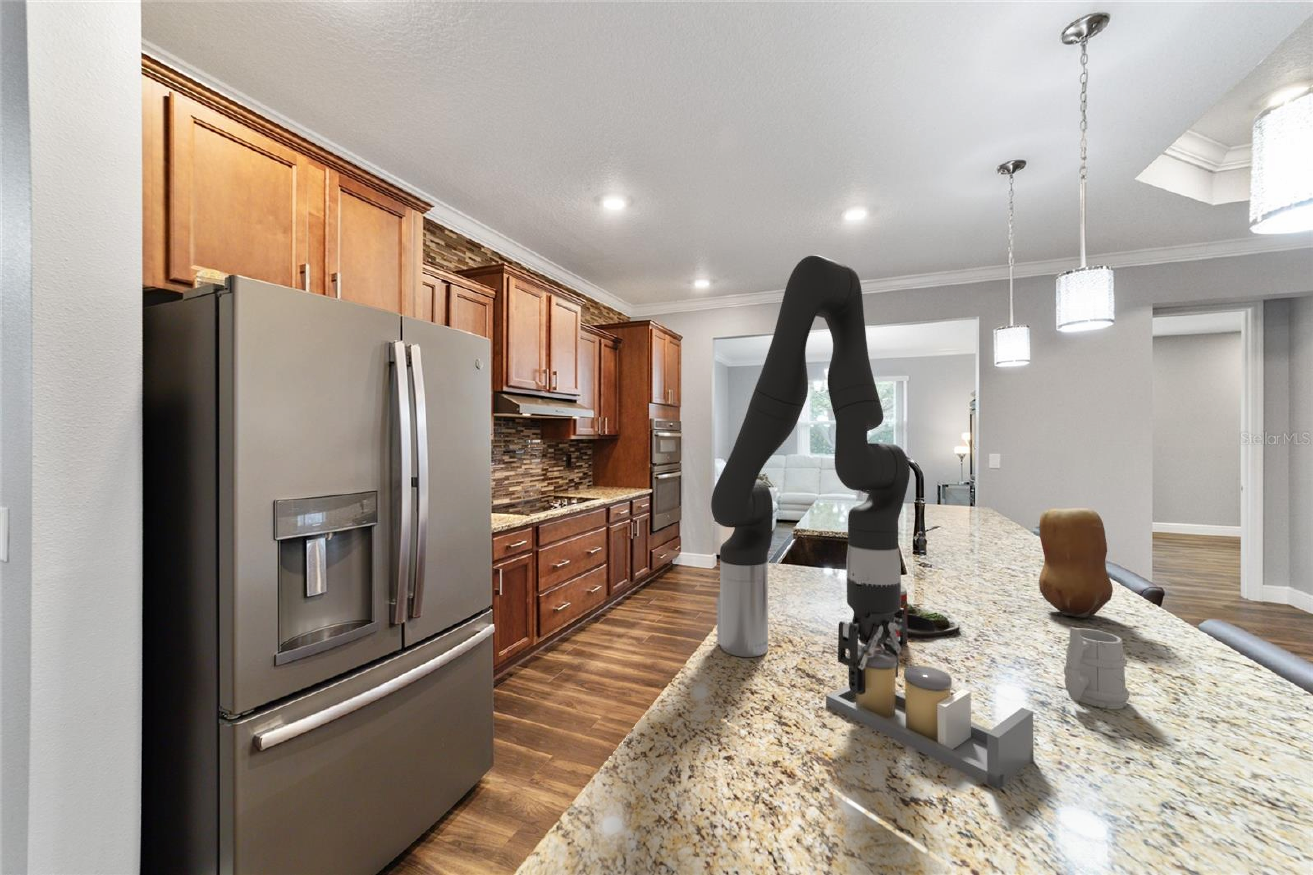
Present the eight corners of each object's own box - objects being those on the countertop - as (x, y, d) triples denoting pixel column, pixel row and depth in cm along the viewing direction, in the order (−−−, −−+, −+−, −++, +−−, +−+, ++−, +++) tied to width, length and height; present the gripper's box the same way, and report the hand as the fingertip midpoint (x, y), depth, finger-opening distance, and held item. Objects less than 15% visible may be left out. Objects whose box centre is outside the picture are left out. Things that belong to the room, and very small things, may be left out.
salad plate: (843, 612, 123) (843, 593, 123) (908, 607, 127) (908, 588, 127) (898, 643, 104) (897, 620, 104) (972, 636, 108) (972, 613, 108)
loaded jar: (896, 730, 72) (895, 672, 72) (918, 717, 75) (917, 662, 75) (938, 750, 67) (938, 688, 67) (960, 736, 70) (959, 677, 70)
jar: (846, 706, 78) (846, 653, 78) (868, 694, 82) (868, 644, 82) (882, 723, 73) (882, 667, 73) (904, 710, 77) (904, 657, 77)
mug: (1139, 703, 79) (1138, 625, 80) (1099, 722, 74) (1098, 638, 74) (1080, 682, 86) (1079, 610, 86) (1040, 698, 81) (1039, 622, 81)
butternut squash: (1038, 603, 128) (1037, 502, 129) (1110, 613, 121) (1108, 506, 121) (1039, 618, 117) (1038, 508, 117) (1118, 631, 109) (1116, 513, 109)
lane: (826, 707, 79) (825, 665, 79) (864, 689, 84) (864, 650, 84) (998, 793, 59) (998, 737, 59) (1033, 762, 65) (1033, 711, 65)
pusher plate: (937, 750, 66) (937, 703, 66) (963, 733, 70) (962, 689, 70) (945, 754, 66) (945, 707, 66) (971, 736, 70) (970, 691, 70)
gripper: (877, 564, 85) (878, 663, 85) (822, 577, 77) (823, 687, 76) (922, 573, 79) (923, 681, 78) (868, 589, 70) (869, 709, 70)
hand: (874, 684), depth 77 cm, fingers open, 8 cm apart
